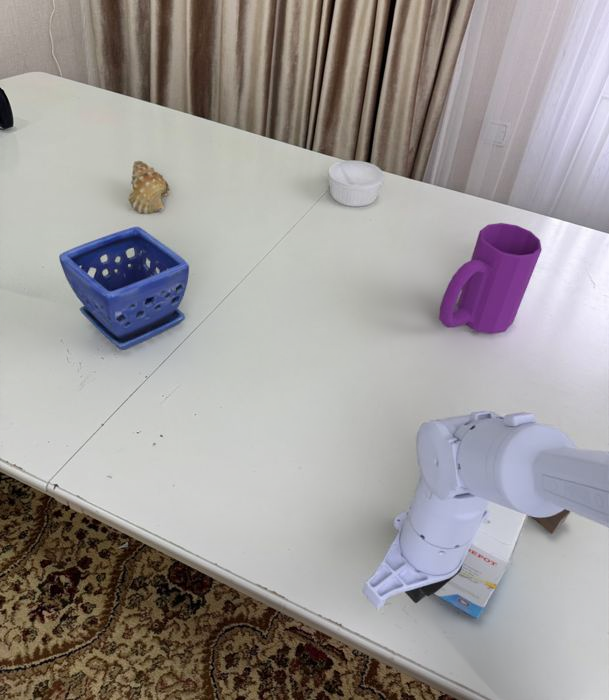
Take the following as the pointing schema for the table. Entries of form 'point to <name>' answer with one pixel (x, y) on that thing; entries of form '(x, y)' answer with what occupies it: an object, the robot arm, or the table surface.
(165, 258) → the flower pot
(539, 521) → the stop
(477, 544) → the ink box
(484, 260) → the mug
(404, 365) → the table surface
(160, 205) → the seashell
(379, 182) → the ramekin
